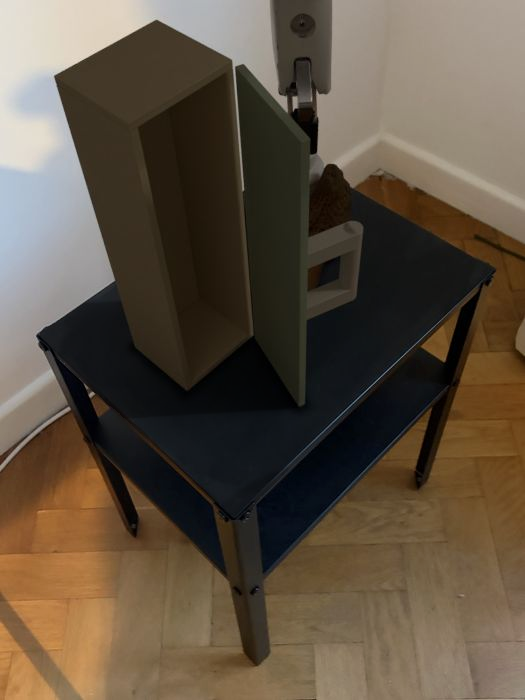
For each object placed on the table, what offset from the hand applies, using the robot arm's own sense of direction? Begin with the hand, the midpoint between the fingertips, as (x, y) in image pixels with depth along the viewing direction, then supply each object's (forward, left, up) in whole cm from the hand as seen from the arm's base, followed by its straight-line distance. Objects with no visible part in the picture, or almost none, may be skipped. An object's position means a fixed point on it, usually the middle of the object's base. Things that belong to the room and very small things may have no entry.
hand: (297, 122), depth 75 cm
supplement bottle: (0, 0, -14) cm, 14 cm away
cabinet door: (+8, +19, -13) cm, 24 cm away
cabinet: (+17, +11, -13) cm, 25 cm away
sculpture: (+3, +9, -14) cm, 17 cm away
